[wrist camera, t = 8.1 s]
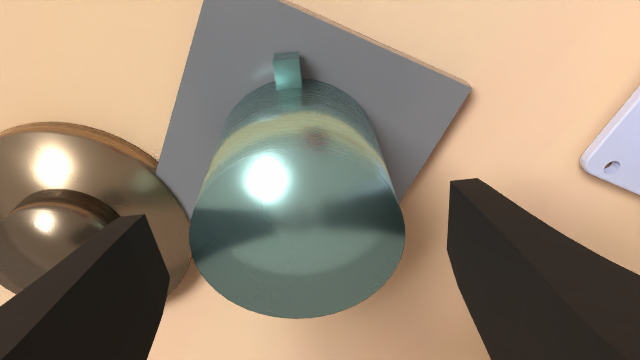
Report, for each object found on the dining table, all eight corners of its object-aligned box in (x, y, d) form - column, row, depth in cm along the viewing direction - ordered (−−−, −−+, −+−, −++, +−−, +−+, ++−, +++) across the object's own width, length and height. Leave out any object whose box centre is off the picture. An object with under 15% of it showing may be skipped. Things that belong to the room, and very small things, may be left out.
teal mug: (377, 227, 16) (402, 330, 12) (239, 239, 16) (219, 345, 12) (375, 42, 12) (409, 103, 8) (198, 58, 12) (151, 125, 8)
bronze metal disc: (222, 171, 15) (211, 204, 13) (167, 320, 19) (153, 361, 17) (-36, 83, 13) (-88, 109, 11) (-40, 268, 17) (-79, 308, 15)
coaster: (465, 81, 13) (472, 87, 13) (353, 261, 17) (355, 272, 17) (215, -32, 12) (211, -30, 11) (151, 198, 15) (145, 208, 15)
